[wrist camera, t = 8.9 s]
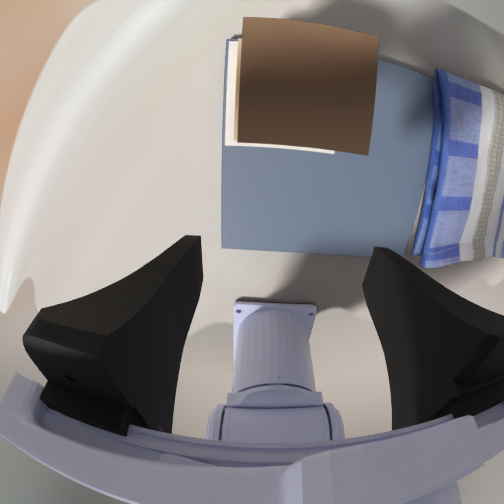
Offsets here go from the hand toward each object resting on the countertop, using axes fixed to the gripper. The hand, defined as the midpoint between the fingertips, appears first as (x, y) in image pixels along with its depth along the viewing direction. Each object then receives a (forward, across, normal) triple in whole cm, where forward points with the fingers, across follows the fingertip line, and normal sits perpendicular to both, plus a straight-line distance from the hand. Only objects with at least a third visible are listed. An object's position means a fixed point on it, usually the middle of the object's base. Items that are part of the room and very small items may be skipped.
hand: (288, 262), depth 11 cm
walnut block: (+5, 0, -7) cm, 8 cm away
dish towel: (+10, -23, -4) cm, 26 cm away
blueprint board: (+10, -4, -3) cm, 11 cm away
